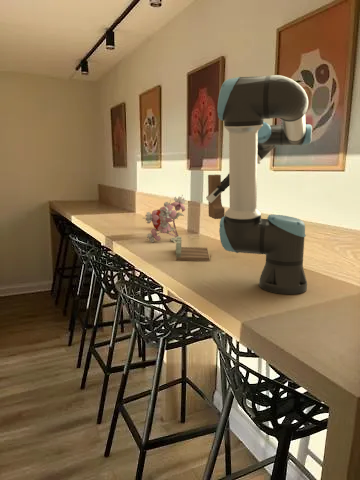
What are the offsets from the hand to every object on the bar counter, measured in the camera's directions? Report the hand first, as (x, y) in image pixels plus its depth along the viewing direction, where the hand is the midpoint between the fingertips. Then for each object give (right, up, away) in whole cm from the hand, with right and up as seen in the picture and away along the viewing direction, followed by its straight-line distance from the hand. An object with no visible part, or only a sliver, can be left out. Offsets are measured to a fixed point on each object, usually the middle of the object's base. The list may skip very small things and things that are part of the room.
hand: (208, 200), depth 163 cm
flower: (-21, -18, +35) cm, 45 cm away
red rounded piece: (-24, -11, +71) cm, 76 cm away
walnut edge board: (-7, -24, +5) cm, 25 cm away
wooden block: (+3, -8, -1) cm, 8 cm away
